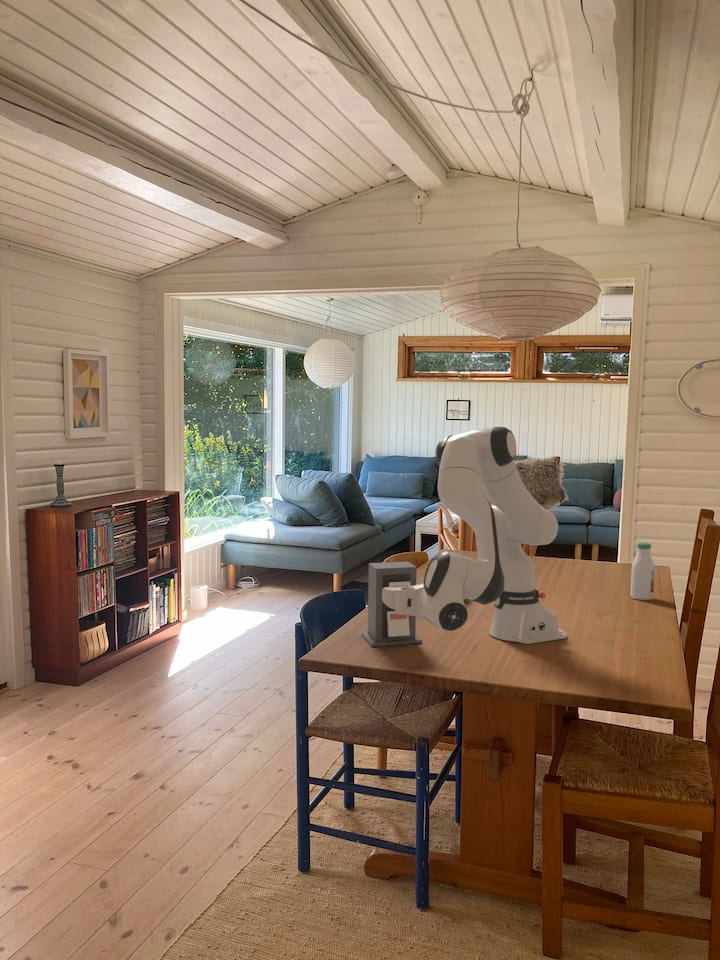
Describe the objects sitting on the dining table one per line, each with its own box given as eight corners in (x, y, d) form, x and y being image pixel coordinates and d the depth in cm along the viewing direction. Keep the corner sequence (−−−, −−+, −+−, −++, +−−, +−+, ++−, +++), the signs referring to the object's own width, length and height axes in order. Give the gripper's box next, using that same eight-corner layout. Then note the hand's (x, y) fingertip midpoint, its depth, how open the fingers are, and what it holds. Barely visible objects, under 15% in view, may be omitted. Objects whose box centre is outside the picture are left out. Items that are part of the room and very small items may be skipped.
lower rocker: (409, 635, 221) (407, 610, 222) (410, 635, 219) (409, 610, 220) (387, 636, 219) (386, 611, 220) (389, 636, 218) (387, 611, 219)
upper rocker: (407, 603, 222) (410, 581, 219) (409, 605, 220) (411, 583, 218) (386, 604, 220) (388, 582, 218) (387, 606, 219) (389, 584, 216)
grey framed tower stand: (409, 632, 234) (411, 560, 232) (421, 643, 223) (423, 567, 221) (361, 635, 230) (362, 562, 228) (371, 646, 219) (372, 570, 217)
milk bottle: (645, 601, 274) (648, 546, 273) (626, 597, 280) (628, 542, 278) (657, 598, 279) (659, 543, 277) (637, 594, 285) (640, 540, 283)
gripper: (469, 586, 196) (449, 575, 209) (391, 589, 191) (376, 578, 204) (468, 611, 196) (448, 598, 210) (391, 614, 191) (375, 601, 204)
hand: (412, 588), depth 207 cm, fingers closed
